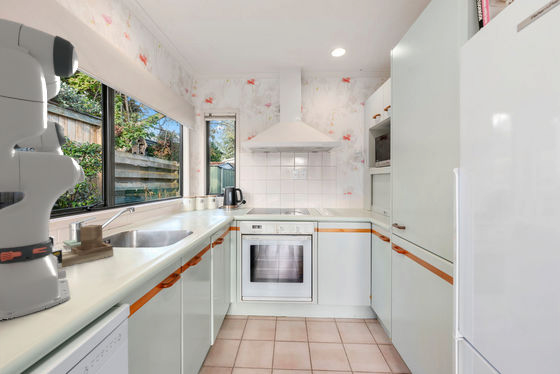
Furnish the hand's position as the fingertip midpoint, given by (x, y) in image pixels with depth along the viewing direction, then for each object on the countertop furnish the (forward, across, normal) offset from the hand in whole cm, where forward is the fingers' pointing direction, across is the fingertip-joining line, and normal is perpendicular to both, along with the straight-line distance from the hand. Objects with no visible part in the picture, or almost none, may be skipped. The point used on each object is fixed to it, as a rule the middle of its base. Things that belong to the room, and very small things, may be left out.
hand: (57, 194), depth 100 cm
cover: (+21, +8, +7) cm, 23 cm away
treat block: (+25, +6, -3) cm, 26 cm away
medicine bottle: (+28, -10, -5) cm, 30 cm away
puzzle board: (+27, +3, -2) cm, 27 cm away
